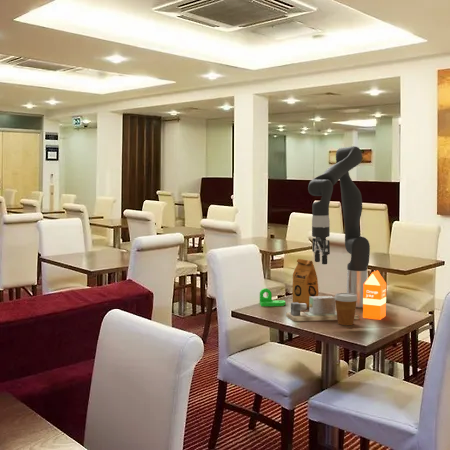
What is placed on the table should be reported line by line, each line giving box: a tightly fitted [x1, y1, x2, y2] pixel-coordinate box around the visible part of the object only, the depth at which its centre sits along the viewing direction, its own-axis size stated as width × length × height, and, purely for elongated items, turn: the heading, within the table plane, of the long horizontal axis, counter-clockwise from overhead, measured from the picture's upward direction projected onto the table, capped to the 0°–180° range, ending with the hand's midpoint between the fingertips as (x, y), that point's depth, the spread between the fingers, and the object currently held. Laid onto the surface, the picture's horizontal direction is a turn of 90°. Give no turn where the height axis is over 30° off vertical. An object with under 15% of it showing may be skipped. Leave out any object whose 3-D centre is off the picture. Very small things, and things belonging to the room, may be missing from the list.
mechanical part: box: [259, 287, 286, 307], centre depth 278 cm, size 12×6×8 cm, turn 96°
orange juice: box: [362, 270, 387, 321], centre depth 252 cm, size 8×9×20 cm
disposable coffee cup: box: [333, 292, 358, 326], centre depth 239 cm, size 10×10×12 cm
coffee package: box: [292, 258, 320, 308], centre depth 278 cm, size 10×12×22 cm
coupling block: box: [308, 295, 336, 315], centre depth 251 cm, size 5×11×7 cm, turn 100°
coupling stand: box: [285, 301, 360, 322], centre depth 251 cm, size 29×11×6 cm, turn 100°
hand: (320, 263), depth 253 cm, fingers open, 8 cm apart
